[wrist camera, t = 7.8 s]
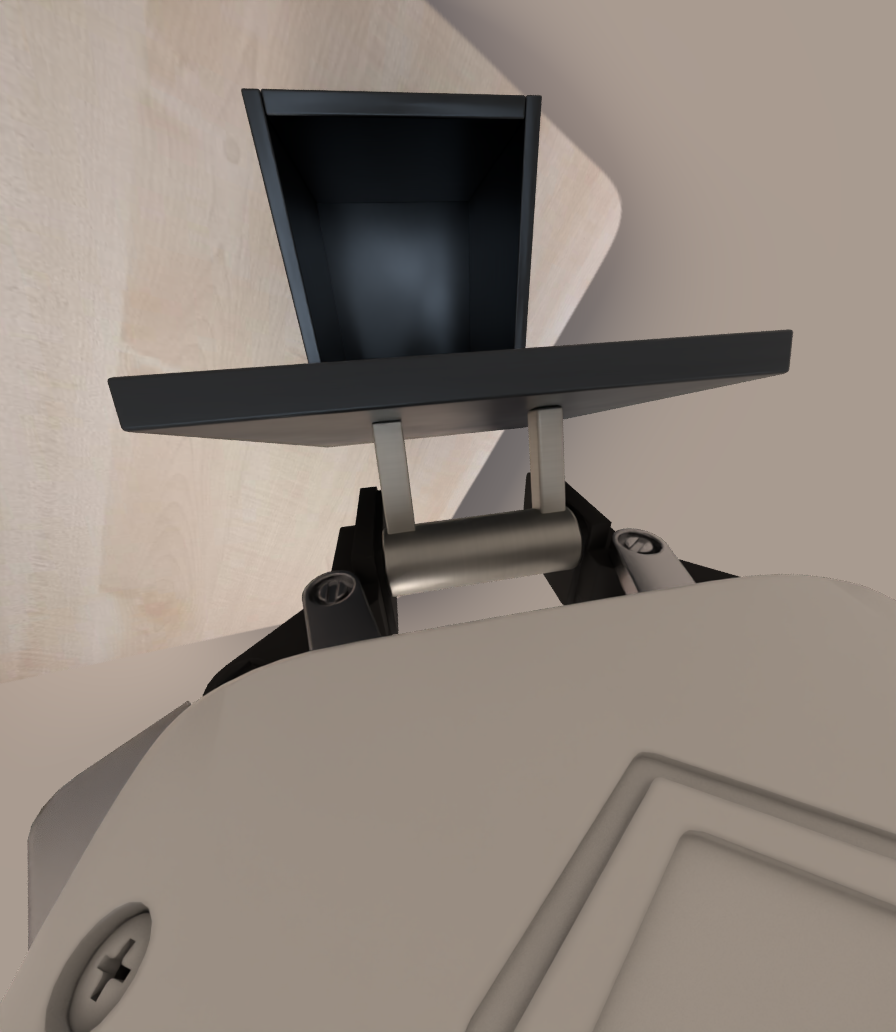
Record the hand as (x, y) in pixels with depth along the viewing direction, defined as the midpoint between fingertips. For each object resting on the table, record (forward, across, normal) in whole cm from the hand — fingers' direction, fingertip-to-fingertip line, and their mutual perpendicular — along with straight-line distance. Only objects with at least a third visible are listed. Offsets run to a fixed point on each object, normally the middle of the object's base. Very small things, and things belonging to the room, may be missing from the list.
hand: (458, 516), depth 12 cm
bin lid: (+3, 0, -3) cm, 4 cm away
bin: (+21, 0, -7) cm, 23 cm away
